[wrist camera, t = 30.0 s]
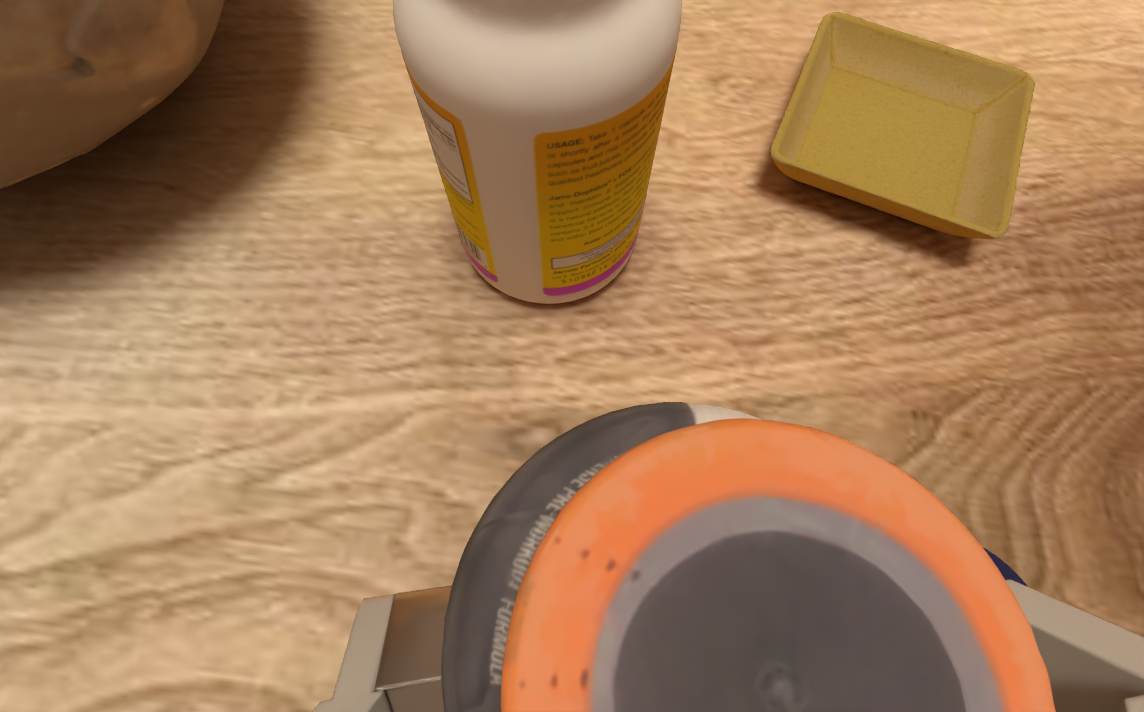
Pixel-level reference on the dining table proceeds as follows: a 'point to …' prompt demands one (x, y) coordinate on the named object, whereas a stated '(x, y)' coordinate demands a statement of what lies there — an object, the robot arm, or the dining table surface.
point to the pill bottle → (728, 581)
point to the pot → (89, 72)
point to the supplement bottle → (542, 129)
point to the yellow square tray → (907, 127)
